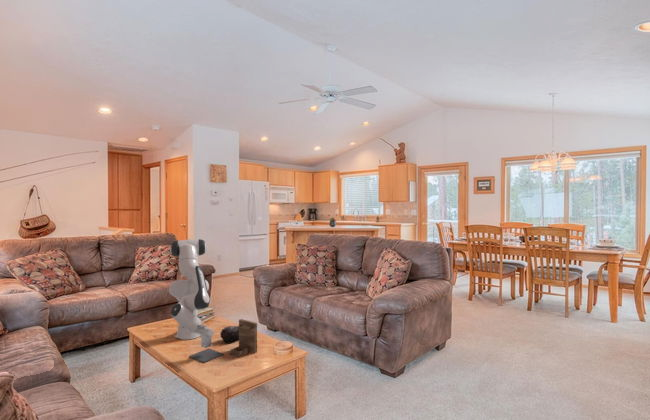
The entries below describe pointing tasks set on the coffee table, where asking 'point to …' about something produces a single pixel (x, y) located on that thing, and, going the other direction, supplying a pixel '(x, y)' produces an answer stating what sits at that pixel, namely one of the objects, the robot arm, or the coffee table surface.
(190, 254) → the robot arm
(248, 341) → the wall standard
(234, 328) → the dark porous rock
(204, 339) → the light gray square block
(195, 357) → the rubber mat
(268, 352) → the coffee table surface
